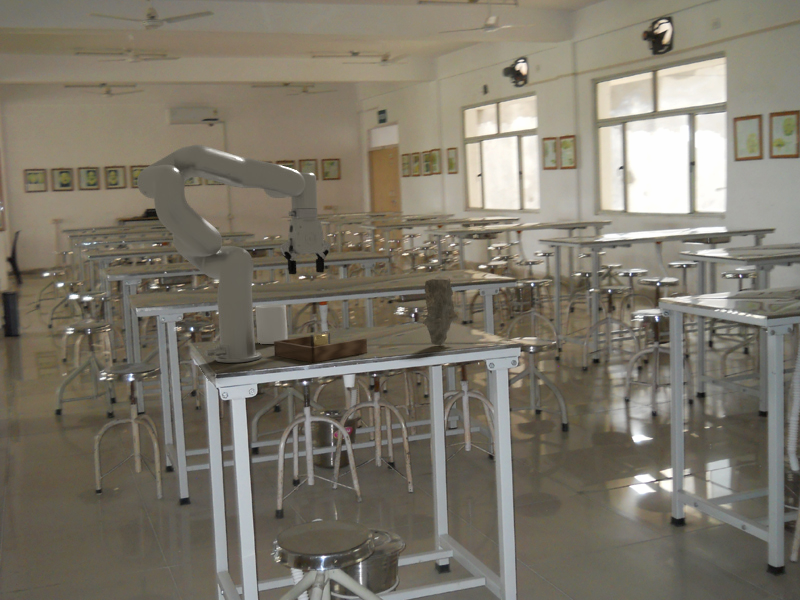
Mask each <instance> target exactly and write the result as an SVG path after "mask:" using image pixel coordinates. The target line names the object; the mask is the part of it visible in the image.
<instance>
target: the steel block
mask: <svg viewBox="0 0 800 600" xmlns="http://www.w3.org/2000/svg"><path fill="white" fill-rule="evenodd" d="M315 334H316V333H315ZM315 334H310V335H309V336H310V338H311V347H314V335H315ZM319 334H324V333H323V332H322V333H319ZM328 344H331V333H330V334H328Z"/></svg>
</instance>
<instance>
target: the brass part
mask: <svg viewBox="0 0 800 600" xmlns="http://www.w3.org/2000/svg"><path fill="white" fill-rule="evenodd" d="M313 335H314V334H313ZM327 344H328V334H324V333H323V334H320V333H315V335H314V347H316V346H321V345H327Z"/></svg>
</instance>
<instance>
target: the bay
mask: <svg viewBox="0 0 800 600" xmlns="http://www.w3.org/2000/svg"><path fill="white" fill-rule="evenodd" d="M323 334H330V335H331V333H330V332H325V333H323ZM367 344H368V339H367V338H366V337H364V338H358V339H353V340H346V341H340V342H334V343H330V344H327V345H321V346H316V347H311V338H310V335H306V336H305V335H304V336H300V337H295V338H294V337H293V338H287V339H286V340H280V341H274V345H273V347H274V348H273V349H274V356H277V357H281V358H282V357H283V358H286V359H287V358H288V359H291V360H292V359H293V360H297V361H302V362H307V363H317V362H318V363H319V362H321V361H322V362H324V361H328V360H332V359H333V360H334V359H340V358H344V357H350V356H356V355H361V354H366V353H368V345H367Z"/></svg>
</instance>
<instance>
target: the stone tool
mask: <svg viewBox="0 0 800 600" xmlns="http://www.w3.org/2000/svg"><path fill="white" fill-rule="evenodd" d="M424 284H425V285H424V293H425V304H426V309H427V310H426V311H427V315H426V318H425V319H424V320H423V321H422V324H423V325H425V326H426V328H427V331H428V334H429V336H430V337H429V338H430V343H431V344H432V345H435V346H441V345H443V344H445V342H446V340H447V338H448V335H447V333H448V332H449V331H450V328H451V324H452V323H453V322H456V321H457V320H458V318H459V316H458V315H457V313H455V306H454V303H453V300H452V297H453V295H454V292H453V289H452V284H451V279H450V278H448V277H447V278H446V277H444V276H436V277H433V278H430V279H428V280H426V281H425V282H424Z"/></svg>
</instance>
